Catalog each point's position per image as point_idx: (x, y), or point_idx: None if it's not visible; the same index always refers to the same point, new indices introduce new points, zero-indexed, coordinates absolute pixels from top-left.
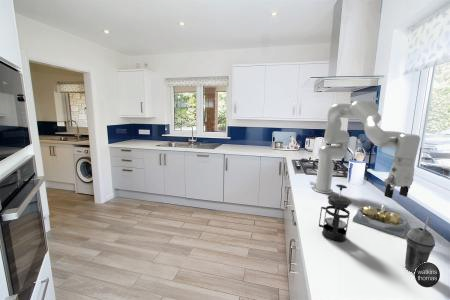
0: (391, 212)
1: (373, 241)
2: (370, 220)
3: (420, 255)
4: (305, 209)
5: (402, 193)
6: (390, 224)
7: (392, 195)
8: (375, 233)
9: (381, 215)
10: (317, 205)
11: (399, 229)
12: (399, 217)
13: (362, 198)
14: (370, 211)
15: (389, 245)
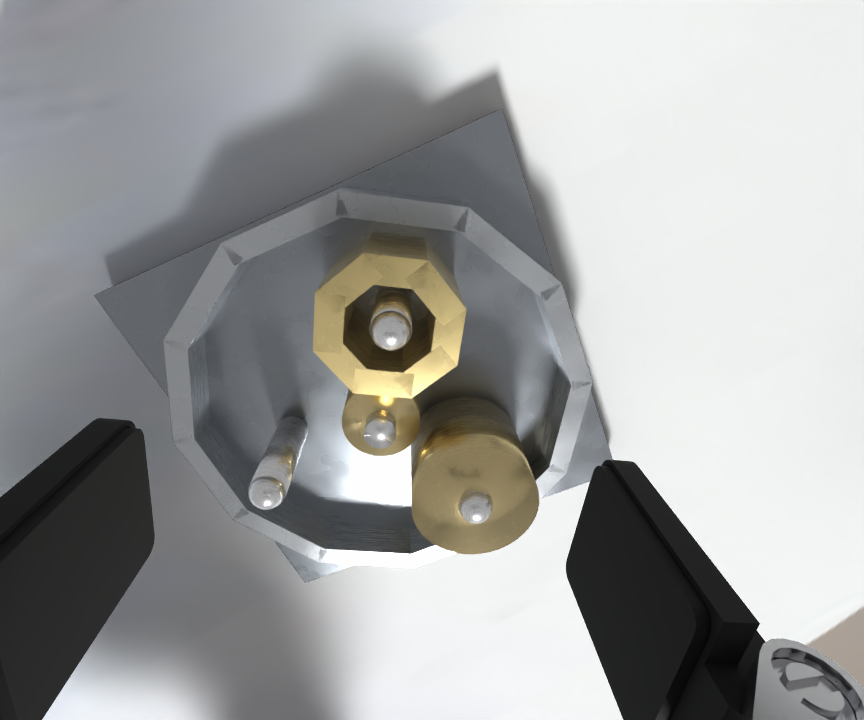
0: (340, 371)
1: (817, 189)
2: (589, 383)
3: None
4: None
5: (124, 524)
6: (509, 256)
7: (638, 498)
8: (651, 266)
9: (413, 399)
10: (599, 670)
11: (423, 197)
12: (391, 255)
13: (84, 680)
14: (527, 465)
15: (771, 88)
